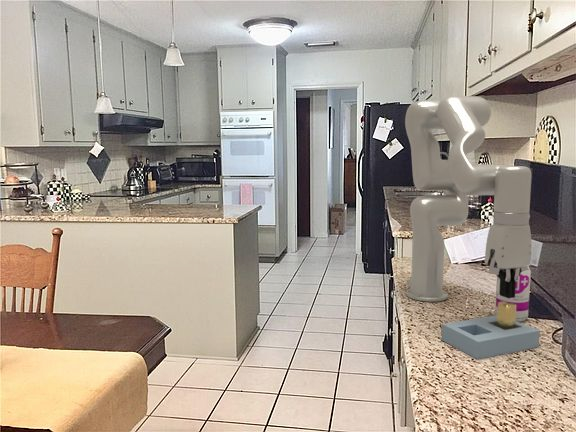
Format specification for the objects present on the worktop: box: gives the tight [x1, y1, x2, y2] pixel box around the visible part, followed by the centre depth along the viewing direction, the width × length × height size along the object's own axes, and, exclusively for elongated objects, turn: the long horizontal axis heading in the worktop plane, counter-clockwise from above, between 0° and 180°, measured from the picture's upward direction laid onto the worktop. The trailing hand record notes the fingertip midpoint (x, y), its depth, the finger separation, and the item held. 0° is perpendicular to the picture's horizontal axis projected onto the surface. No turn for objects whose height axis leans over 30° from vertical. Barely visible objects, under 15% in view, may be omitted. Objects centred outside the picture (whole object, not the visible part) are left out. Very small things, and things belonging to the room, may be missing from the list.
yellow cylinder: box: [496, 302, 517, 330], centre depth 118 cm, size 4×4×8 cm
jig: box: [441, 314, 541, 360], centre depth 116 cm, size 12×18×4 cm, turn 111°
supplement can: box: [494, 264, 532, 323], centre depth 134 cm, size 8×8×15 cm
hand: (507, 296), depth 117 cm, fingers closed
